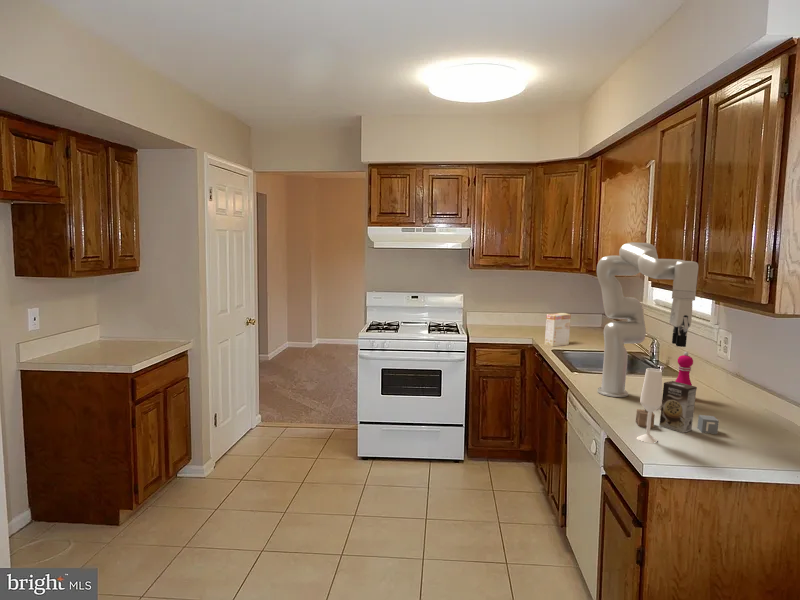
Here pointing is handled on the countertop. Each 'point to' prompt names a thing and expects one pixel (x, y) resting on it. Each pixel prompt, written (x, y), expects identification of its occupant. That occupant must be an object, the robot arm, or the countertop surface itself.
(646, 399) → the champagne flute
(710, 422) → the slate block seven
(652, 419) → the walnut block one
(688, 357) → the pepper mill
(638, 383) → the countertop surface
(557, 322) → the coffeecake box
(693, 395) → the coffee box
